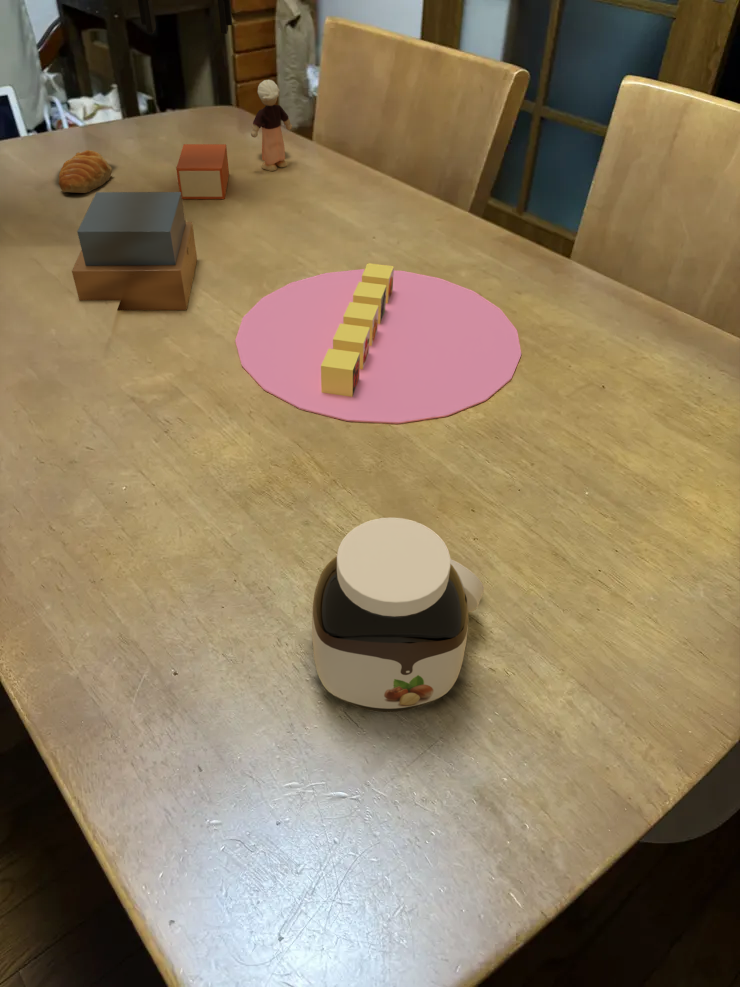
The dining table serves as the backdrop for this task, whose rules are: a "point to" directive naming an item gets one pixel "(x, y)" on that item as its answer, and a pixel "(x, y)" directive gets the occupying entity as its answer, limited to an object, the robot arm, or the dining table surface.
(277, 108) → the grandmother figurine
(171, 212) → the box stack
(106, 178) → the pastry
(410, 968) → the dining table surface
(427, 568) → the spread jar
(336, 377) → the platter
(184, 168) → the orange box
